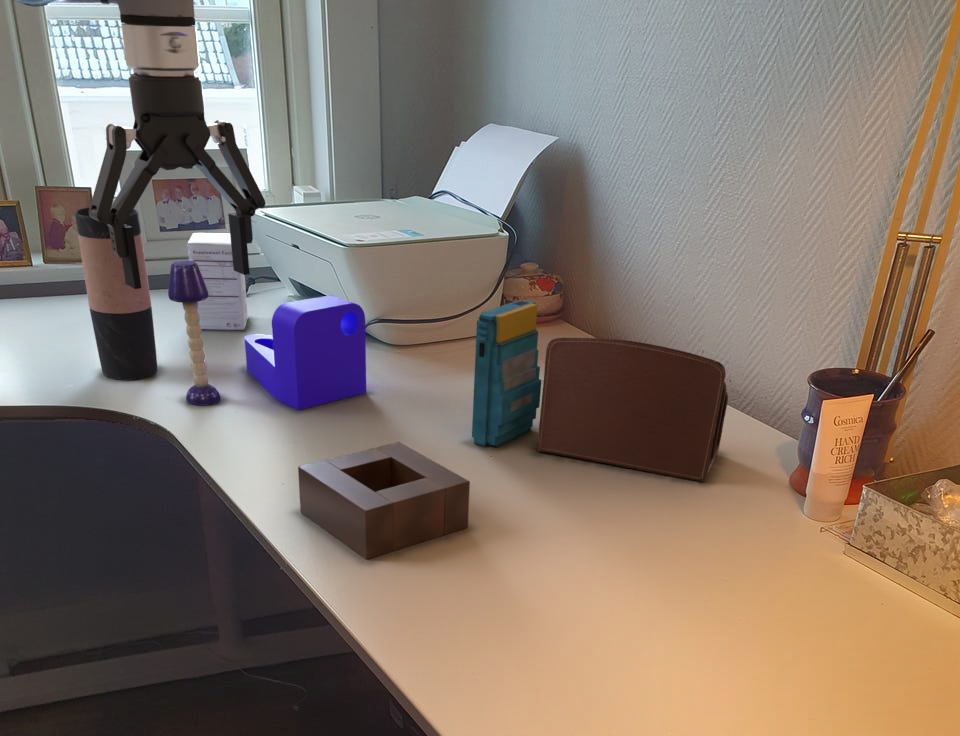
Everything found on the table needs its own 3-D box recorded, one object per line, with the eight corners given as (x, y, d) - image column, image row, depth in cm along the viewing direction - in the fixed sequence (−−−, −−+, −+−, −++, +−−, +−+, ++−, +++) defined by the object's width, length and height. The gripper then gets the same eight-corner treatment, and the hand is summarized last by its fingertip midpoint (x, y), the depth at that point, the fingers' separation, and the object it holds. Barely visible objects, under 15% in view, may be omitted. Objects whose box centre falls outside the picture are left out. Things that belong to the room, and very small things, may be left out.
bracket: (366, 392, 130) (364, 300, 123) (298, 410, 123) (293, 314, 117) (285, 358, 140) (280, 272, 134) (219, 373, 134) (210, 283, 127)
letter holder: (705, 483, 110) (728, 357, 102) (535, 453, 115) (545, 331, 107) (718, 452, 118) (741, 333, 110) (559, 425, 123) (570, 309, 115)
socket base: (366, 559, 91) (365, 510, 89) (300, 512, 99) (297, 466, 96) (468, 527, 98) (470, 481, 95) (398, 485, 106) (398, 441, 103)
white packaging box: (201, 316, 156) (192, 231, 149) (249, 317, 157) (242, 233, 150) (195, 329, 150) (185, 242, 143) (245, 330, 151) (237, 243, 144)
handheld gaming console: (512, 421, 123) (521, 297, 115) (540, 429, 122) (551, 304, 113) (467, 442, 117) (472, 313, 108) (495, 451, 115) (503, 321, 107)
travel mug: (115, 384, 128) (89, 219, 117) (90, 368, 133) (63, 209, 122) (170, 374, 132) (149, 214, 122) (144, 359, 137) (122, 204, 126)
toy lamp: (206, 409, 122) (190, 268, 113) (173, 403, 123) (155, 263, 114) (227, 397, 126) (213, 260, 117) (195, 391, 127) (180, 255, 118)
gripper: (58, 76, 96) (97, 299, 107) (285, 74, 109) (298, 273, 121) (32, 70, 101) (72, 285, 112) (253, 69, 114) (268, 261, 126)
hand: (189, 279), depth 117 cm, fingers open, 13 cm apart
